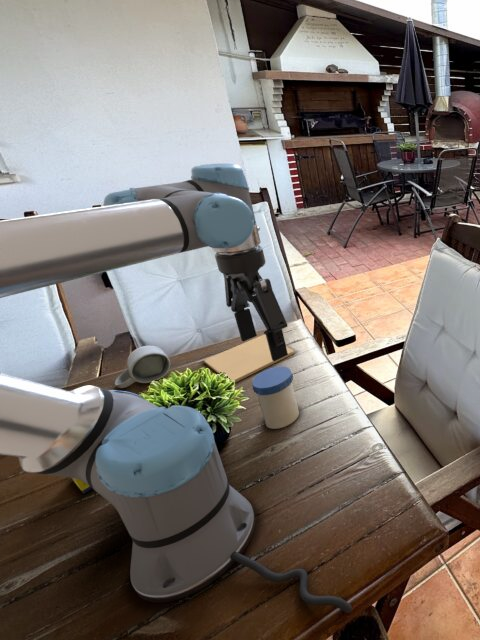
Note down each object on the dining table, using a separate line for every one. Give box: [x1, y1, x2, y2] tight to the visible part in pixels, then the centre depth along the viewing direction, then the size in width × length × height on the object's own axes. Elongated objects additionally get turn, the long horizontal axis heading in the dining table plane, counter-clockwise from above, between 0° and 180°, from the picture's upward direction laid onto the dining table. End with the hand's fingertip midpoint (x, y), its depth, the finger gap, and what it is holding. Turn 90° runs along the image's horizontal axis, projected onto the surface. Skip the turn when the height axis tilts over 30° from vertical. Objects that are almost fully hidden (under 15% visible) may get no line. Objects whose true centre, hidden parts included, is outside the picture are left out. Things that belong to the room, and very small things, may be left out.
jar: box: [256, 382, 300, 430], centre depth 87 cm, size 7×7×10 cm
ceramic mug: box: [114, 345, 171, 389], centre depth 100 cm, size 11×8×8 cm
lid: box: [251, 365, 294, 395], centre depth 85 cm, size 7×7×2 cm
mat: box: [203, 333, 295, 383], centre depth 109 cm, size 16×16×1 cm
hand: (264, 347), depth 82 cm, fingers open, 12 cm apart
